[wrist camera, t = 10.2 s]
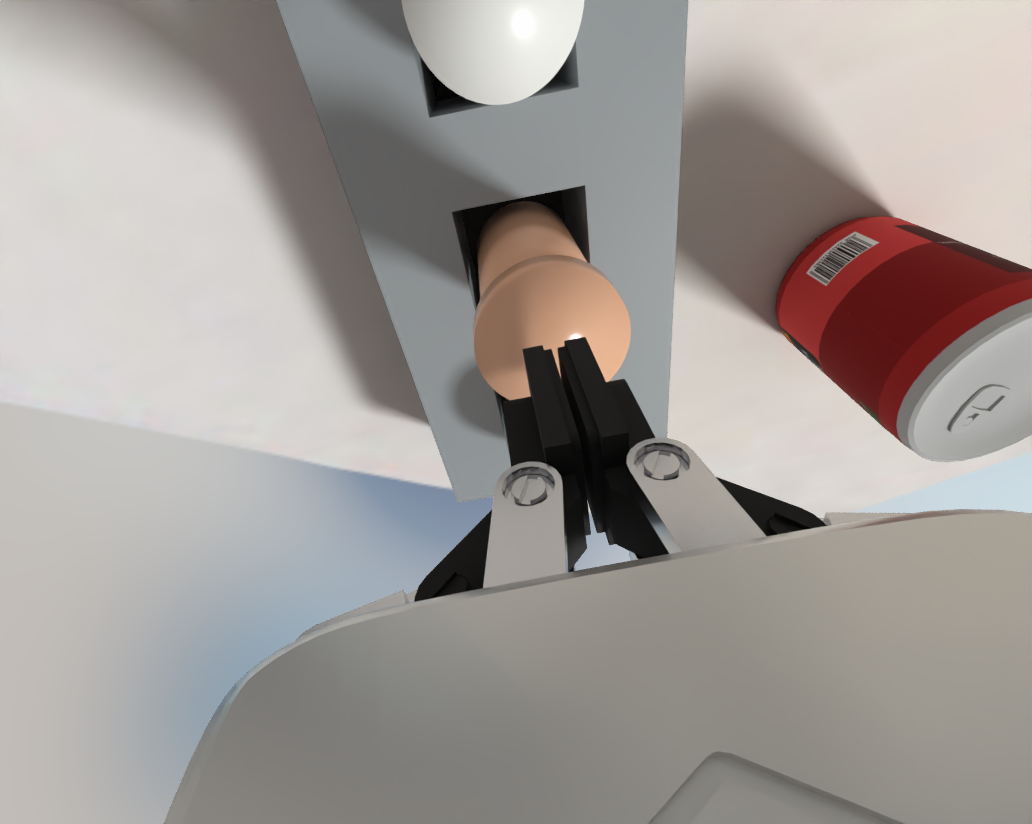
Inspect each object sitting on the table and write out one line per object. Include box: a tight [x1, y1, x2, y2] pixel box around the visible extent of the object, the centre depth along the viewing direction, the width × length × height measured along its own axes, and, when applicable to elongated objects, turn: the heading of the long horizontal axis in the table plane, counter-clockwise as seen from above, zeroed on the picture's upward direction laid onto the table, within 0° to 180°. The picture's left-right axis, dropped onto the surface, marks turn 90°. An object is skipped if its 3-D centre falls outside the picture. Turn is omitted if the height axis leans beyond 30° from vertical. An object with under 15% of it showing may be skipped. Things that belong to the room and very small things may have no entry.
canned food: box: [776, 216, 1032, 462], centre depth 23 cm, size 8×8×11 cm
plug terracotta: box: [473, 201, 631, 400], centre depth 17 cm, size 5×5×8 cm
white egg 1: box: [401, 0, 584, 105], centre depth 15 cm, size 5×5×8 cm
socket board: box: [276, 0, 688, 503], centre depth 21 cm, size 26×12×6 cm, turn 9°
